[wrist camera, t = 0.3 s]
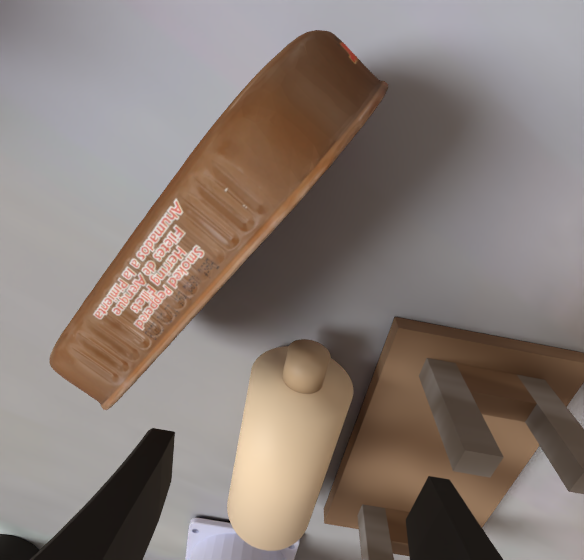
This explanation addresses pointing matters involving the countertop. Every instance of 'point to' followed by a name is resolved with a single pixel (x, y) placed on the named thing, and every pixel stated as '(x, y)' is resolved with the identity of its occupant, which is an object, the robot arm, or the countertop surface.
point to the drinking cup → (16, 548)
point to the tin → (218, 210)
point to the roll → (286, 442)
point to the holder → (453, 427)
